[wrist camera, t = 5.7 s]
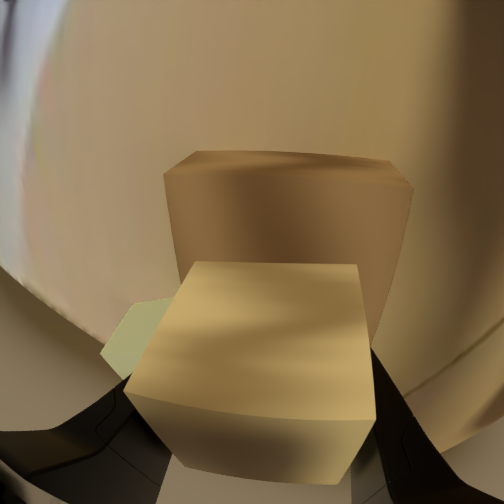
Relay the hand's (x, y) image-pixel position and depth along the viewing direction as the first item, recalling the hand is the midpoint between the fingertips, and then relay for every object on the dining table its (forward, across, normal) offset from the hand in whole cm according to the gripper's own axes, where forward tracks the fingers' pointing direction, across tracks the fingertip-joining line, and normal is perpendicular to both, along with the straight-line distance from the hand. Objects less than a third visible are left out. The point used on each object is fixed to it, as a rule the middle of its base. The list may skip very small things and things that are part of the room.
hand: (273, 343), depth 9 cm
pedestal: (+7, 0, 0) cm, 7 cm away
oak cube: (+1, 0, 0) cm, 1 cm away
